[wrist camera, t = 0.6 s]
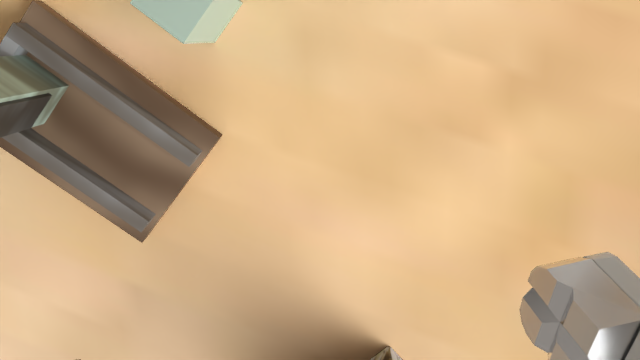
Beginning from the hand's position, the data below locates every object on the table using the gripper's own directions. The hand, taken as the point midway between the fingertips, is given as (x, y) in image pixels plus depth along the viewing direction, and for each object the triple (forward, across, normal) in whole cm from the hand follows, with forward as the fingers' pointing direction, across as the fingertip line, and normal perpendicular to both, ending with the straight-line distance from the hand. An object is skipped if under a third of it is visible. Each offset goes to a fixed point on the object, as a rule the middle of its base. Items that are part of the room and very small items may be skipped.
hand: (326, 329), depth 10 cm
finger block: (+39, 0, +6) cm, 39 cm away
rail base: (+38, +10, +15) cm, 42 cm away
